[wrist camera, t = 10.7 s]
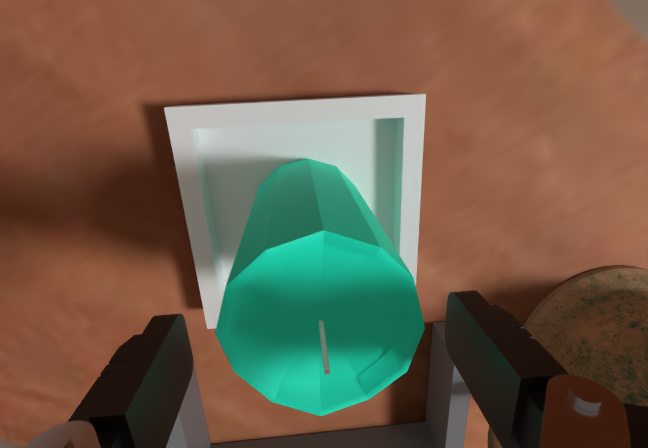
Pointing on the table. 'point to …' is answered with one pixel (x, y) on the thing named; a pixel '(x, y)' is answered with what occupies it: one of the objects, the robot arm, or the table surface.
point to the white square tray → (286, 147)
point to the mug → (598, 330)
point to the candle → (317, 295)
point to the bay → (365, 443)
